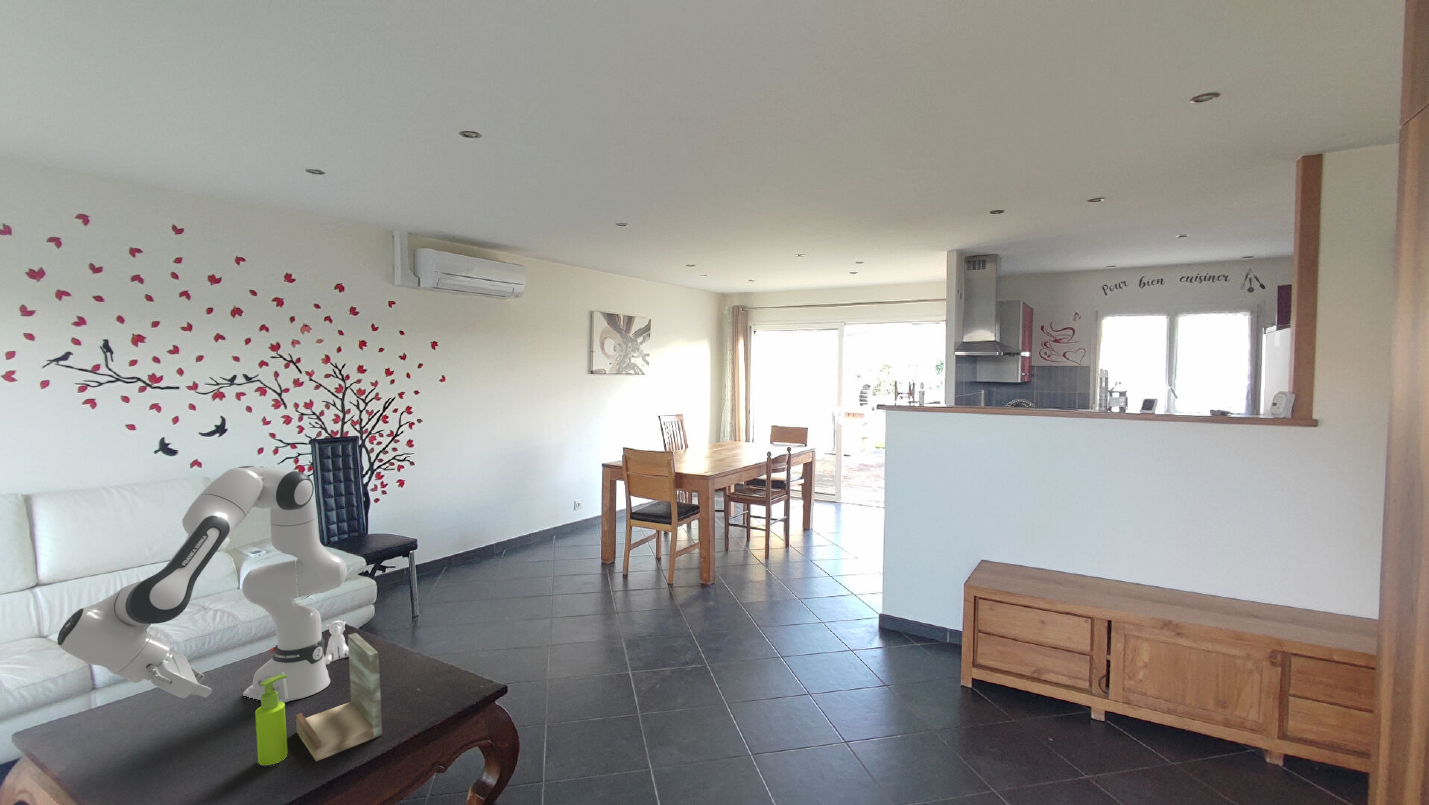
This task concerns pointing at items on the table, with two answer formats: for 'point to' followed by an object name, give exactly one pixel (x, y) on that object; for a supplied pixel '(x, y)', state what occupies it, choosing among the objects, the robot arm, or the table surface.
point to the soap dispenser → (271, 725)
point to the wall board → (348, 708)
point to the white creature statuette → (336, 642)
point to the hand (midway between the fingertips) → (205, 686)
